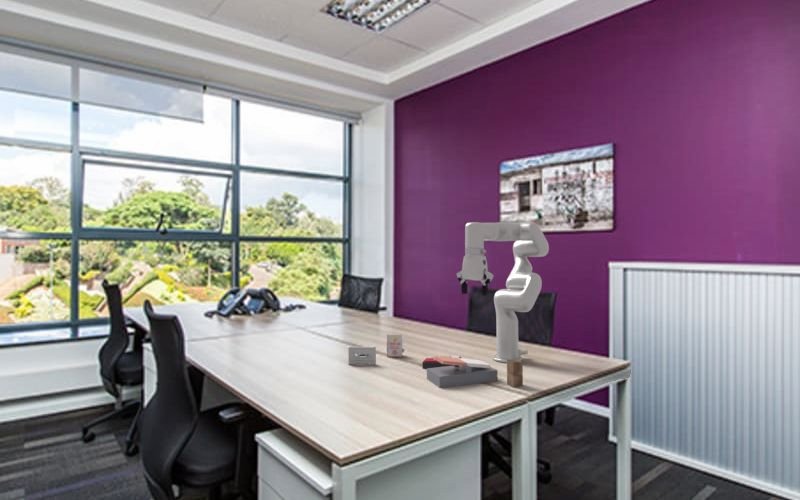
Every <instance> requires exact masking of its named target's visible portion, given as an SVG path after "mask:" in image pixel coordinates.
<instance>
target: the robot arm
mask: <svg viewBox="0 0 800 500" xmlns="http://www.w3.org/2000/svg"><path fill="white" fill-rule="evenodd" d="M464 227H465V228H464V230H465V231H464V234H465V235H464V236H465V237H464V245H465V246H464V248H465V249H464V254H465V255H463V260H462V267H461V270H460V271H458V272H456V277H457V281H458V282H459V284H460V285H461V294H462V295H465V294H468V281H477V282H478V281H480V282H481V284H482V285H481V296H488V293H489V288H488V287H489V285H490V283H491V282H492V280H493V278H494V274H493V273H491V272H490V271H489V270H488V261H487V256H486V255H485V254H487V250H486V249H485V247H484V246H485V245H484V243H485V242H487V241H491V242H514V243H513V245H512V253H513V257H514V258H513V259H514V266H512V267H513V268H512V269H511V272H510V273H509V275H508V277H507V278H506V281H505V287H506V288H501V289H498V290H497V291H496V292H495V293H494V296H493V303H494V308H495V316H496V317H495V318H496V325H495V326H496V354H494V355H493V356H492V359H493V360H494V361H496V362H499V363H506V364H507V360H511V359H518V360H520V361H522V362H523V358H522V355H528V353H529V352H528V350H527V349H523V350H522V349H519V320H518V317H517V314H516V312H517V313H528V312H530V311H531V310H532V309H533V307H534V305H535V303H536V301H537V299H538V297H539V295H540V292H541V290H542V287H543V286H542V284H543V282H542V278H541V276H540V275H539V274H538V273H536V272H533V266H532V264H531V262H530V261H529V259H528V258H529V257H530V258H538V257H539V258H540V257H541V258H542V257H545V256H547V255H548V254H549V251H550V245H549V242H548V240H547V238H546V236H545V235H544V232H543V231H542V230H541V228H540V226H539V224H537V223H536V222H534V221H522V222H521V221H520V222H519V221H518V222H517V221H516V222H515V221H514V222H509V221H502V222H501V221H500V222H499V221H497V222H479V221H478V222H477V221H475V222H474V221H473V222H472V221H471V222H467V223H466V224H465V226H464Z"/></svg>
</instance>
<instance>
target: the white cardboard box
mask: <svg viewBox="0 0 800 500" xmlns="http://www.w3.org/2000/svg"><path fill="white" fill-rule="evenodd" d="M386 336H387V337H386V357H387V358H402V357H403V336H402V334H387V335H386Z"/></svg>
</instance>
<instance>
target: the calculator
mask: <svg viewBox="0 0 800 500" xmlns="http://www.w3.org/2000/svg"><path fill="white" fill-rule="evenodd" d="M434 356H439V355H437V354H436V355H431V354H430V355H427V356H426V358H425V359H424V360H423V361H422V362H421V364H422V369H424V370H427V368H436V367H445V366H453V365H448V364H442V363H440V362H438V361H437V360H435V359H434ZM440 356H441V357H452V358H462V356H461V355H440Z"/></svg>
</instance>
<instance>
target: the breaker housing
mask: <svg viewBox="0 0 800 500" xmlns="http://www.w3.org/2000/svg"><path fill="white" fill-rule="evenodd" d="M498 374H499V373H498V369H495V368H493V367H491V366H490V368H482V367H471V366H466V367H463V366H459V365H453V366H445V367H436V368H427V369H426V380H428V381H429V382H431V383H432V384H434V386H436V387H438V388H439V389H440V388H448V387H457V386H458V387H459V386H465V385H473V384H475V385H476V384H481V383H490V382H498V377H499V376H498Z"/></svg>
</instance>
